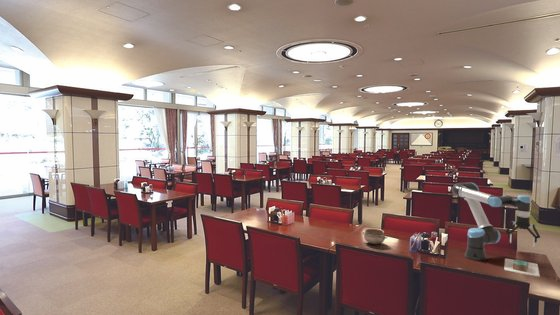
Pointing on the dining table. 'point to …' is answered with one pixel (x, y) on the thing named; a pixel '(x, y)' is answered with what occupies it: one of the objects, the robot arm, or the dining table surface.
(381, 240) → the cooking pot
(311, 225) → the dining table surface
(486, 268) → the dining table surface
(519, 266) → the walnut plaque
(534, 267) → the cream white flat board
